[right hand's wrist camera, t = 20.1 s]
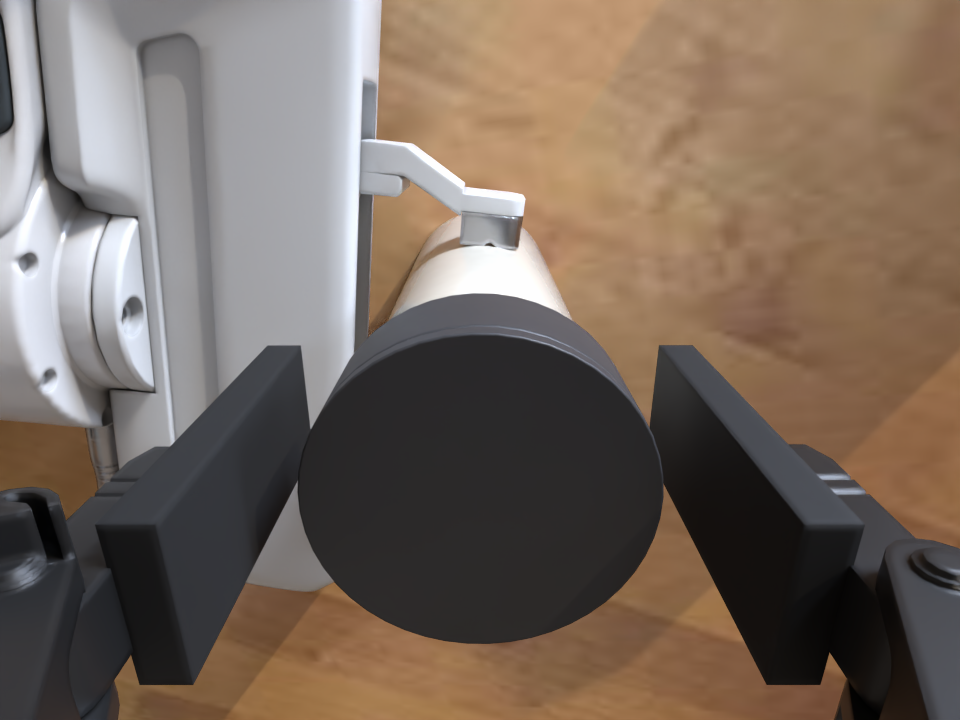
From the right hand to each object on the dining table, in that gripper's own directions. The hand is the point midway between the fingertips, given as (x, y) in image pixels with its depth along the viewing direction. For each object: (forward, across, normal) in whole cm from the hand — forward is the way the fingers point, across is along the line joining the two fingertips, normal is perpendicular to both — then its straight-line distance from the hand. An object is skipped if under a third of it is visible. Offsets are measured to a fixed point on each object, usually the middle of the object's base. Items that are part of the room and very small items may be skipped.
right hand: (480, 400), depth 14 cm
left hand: (+6, -1, 0) cm, 6 cm away
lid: (-4, 0, 0) cm, 4 cm away
